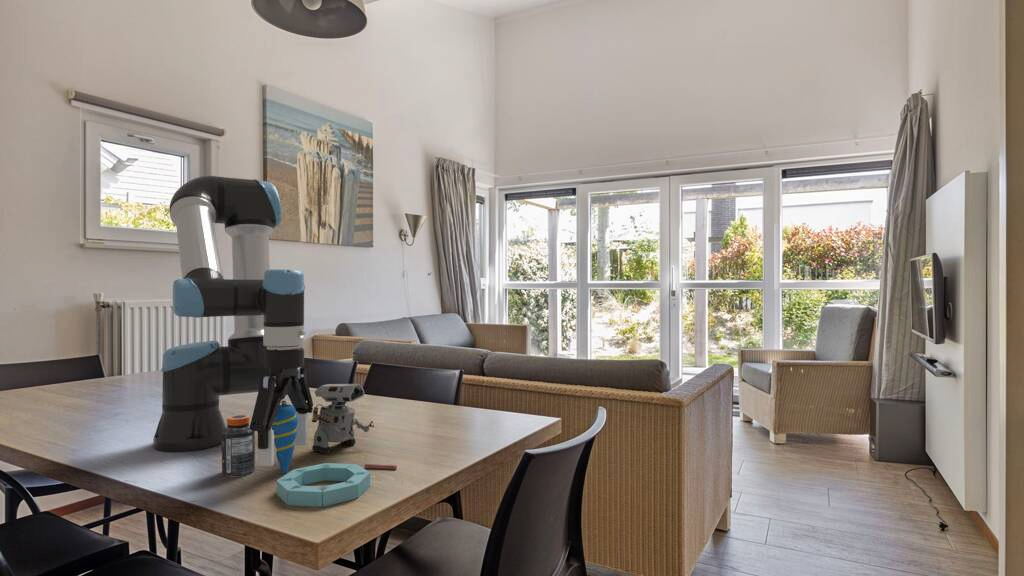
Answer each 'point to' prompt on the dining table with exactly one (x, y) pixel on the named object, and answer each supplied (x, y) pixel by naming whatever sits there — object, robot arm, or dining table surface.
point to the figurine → (336, 416)
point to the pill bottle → (238, 447)
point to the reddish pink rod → (380, 466)
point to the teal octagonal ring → (318, 496)
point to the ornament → (285, 434)
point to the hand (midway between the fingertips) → (284, 454)
